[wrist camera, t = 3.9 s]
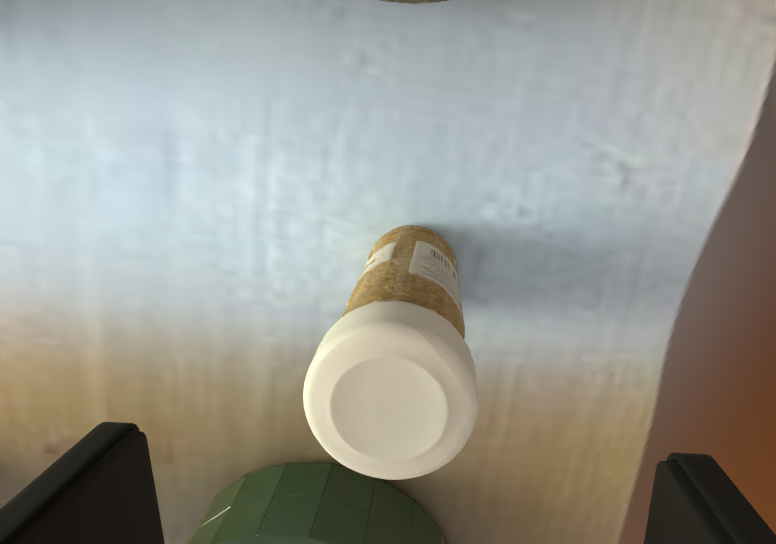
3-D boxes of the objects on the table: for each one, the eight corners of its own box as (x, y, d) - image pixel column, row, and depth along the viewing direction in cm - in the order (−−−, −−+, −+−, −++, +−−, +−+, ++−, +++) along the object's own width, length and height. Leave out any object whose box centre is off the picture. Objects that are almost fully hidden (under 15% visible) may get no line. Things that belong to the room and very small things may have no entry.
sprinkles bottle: (358, 235, 25) (275, 345, 12) (447, 214, 24) (458, 307, 12) (381, 318, 26) (327, 499, 13) (467, 300, 26) (497, 473, 13)
